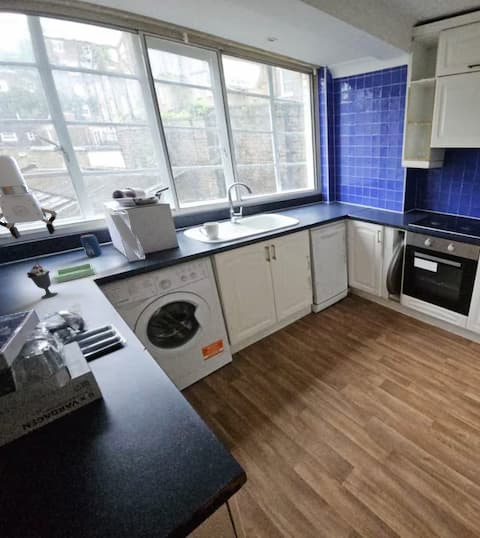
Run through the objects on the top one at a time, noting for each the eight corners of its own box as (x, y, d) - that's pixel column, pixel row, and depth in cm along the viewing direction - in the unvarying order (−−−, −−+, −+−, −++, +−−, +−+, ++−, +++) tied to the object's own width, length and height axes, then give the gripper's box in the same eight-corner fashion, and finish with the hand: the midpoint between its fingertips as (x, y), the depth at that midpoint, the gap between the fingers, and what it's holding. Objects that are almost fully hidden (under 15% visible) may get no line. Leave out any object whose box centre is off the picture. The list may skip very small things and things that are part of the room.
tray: (57, 282, 136) (55, 277, 135) (58, 275, 144) (55, 270, 143) (94, 274, 144) (92, 269, 143) (92, 267, 152) (90, 262, 151)
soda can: (100, 252, 174) (92, 233, 169) (104, 254, 170) (96, 235, 166) (85, 256, 169) (77, 236, 164) (89, 258, 165) (80, 238, 160)
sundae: (60, 290, 128) (44, 258, 122) (60, 295, 123) (44, 262, 117) (38, 295, 123) (21, 262, 118) (38, 301, 119) (20, 267, 113)
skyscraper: (145, 260, 160) (127, 208, 149) (127, 263, 156) (107, 211, 145) (145, 255, 167) (128, 206, 156) (127, 259, 163) (109, 208, 152)
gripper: (-26, 194, 101) (-1, 242, 107) (43, 189, 109) (62, 234, 116) (-16, 192, 107) (8, 237, 113) (49, 187, 115) (67, 230, 122)
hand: (35, 235), depth 115 cm, fingers open, 9 cm apart
